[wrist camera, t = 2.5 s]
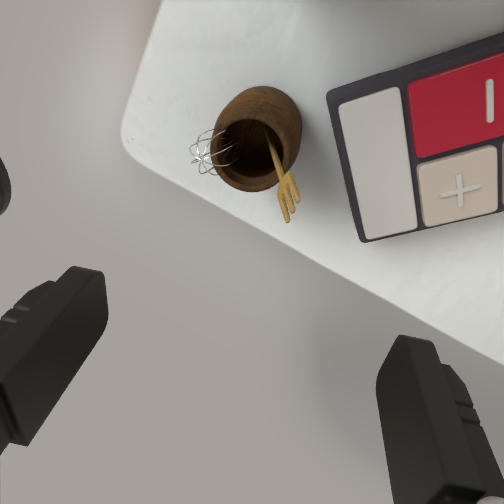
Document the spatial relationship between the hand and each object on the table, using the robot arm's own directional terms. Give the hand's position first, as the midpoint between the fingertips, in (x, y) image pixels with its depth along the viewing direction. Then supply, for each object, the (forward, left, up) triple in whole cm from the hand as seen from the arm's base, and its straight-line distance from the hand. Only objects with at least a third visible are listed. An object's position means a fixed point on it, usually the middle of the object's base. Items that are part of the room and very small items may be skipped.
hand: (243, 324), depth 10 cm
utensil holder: (-2, 0, -22) cm, 22 cm away
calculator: (+11, +2, -22) cm, 24 cm away
